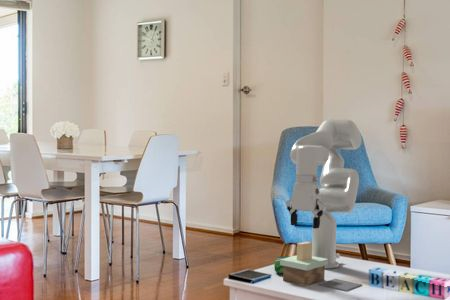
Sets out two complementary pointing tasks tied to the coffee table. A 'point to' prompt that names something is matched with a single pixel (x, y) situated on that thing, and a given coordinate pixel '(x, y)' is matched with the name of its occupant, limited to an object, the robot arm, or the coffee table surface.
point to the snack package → (277, 264)
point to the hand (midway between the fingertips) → (304, 226)
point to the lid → (304, 258)
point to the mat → (340, 284)
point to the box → (303, 275)
